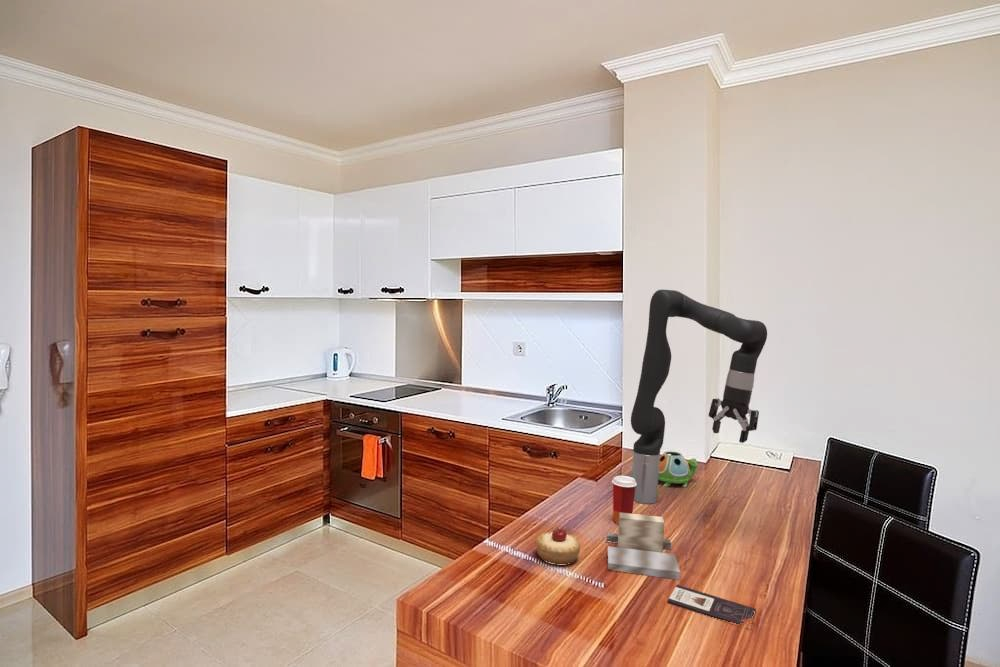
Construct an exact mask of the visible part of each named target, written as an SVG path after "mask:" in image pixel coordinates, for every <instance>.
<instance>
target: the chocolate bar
mask: <svg viewBox="0 0 1000 667" xmlns="http://www.w3.org/2000/svg"><path fill="white" fill-rule="evenodd" d="M666 603H667V604H669V605H673V606H675V607H678V608H682V609H683V610H684V609H685V610H687V611H688V610H689V611H691V612H694V613H697V614H700V613H701V614H700V615H703V614H704V615H703V616H706V615H707V616H706V617H709V616H710V617H709V618H712V617H714V618H713V619H715V618H717V619H716V620H718V619H721V620H725V621H728V622H733V623H736V624H740V623H744V622H743V621H741V620H743V619H748V618H752V616H753V615H754V612H753V611H756V612H757V608H754V607H751V606H748V605H745V604H742V603H737V602H735V601H732V600H728V599H725V598H722V597H718V596H715V595H712V594H709V593H706V592H702V591H698V590H695V589H694V588H693V589H692V588H690V587H686V586H683V585H679V584H676V586H675V588H674V589H673V590H672V592H671V594H670V596H669V598H668V600H667V602H666ZM721 620H720V621H721ZM740 625H741V624H740Z"/></svg>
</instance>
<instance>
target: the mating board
mask: <svg viewBox="0 0 1000 667" xmlns="http://www.w3.org/2000/svg"><path fill="white" fill-rule="evenodd" d="M607 541H611V542H617V543H618V533H613V532H607V533H606V542H607ZM663 550H669V551H671V550H672V542H671V539H665V538H663ZM606 554H607V555H606V557H607V556H608V559H607V570H608V569H611V570H618V571H624V572H630V573H629V574H631V573H636V574H635V575H639V574H643V575H642V576H647V575H648V576H647V577H656V578H663V579H664V578H665V579H672V580H673V579H674V580H679V581H680V579H681V578H680V577H681V571H680V567H679V565H678V564H679V563H678V560H677V557H676V554H675V553H668V552H663V553H660V552H652V551H643V550H635V549H626V548H618V546H617V547H615V546H609V545H608V546H607V552H606Z"/></svg>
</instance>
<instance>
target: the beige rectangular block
mask: <svg viewBox="0 0 1000 667" xmlns="http://www.w3.org/2000/svg"><path fill="white" fill-rule="evenodd" d="M664 533H665V520H664V517H663V516H656V515H647V514H638V513H637V514H636V513H632V514H630V513H620V514H619V524H618V533H617V534H618V544H617V547H618V548H626V549H635V550H643V551H652V552H660V553H664V552H663V551H664V549H663V539H665V538H664V536H665V534H664Z"/></svg>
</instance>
